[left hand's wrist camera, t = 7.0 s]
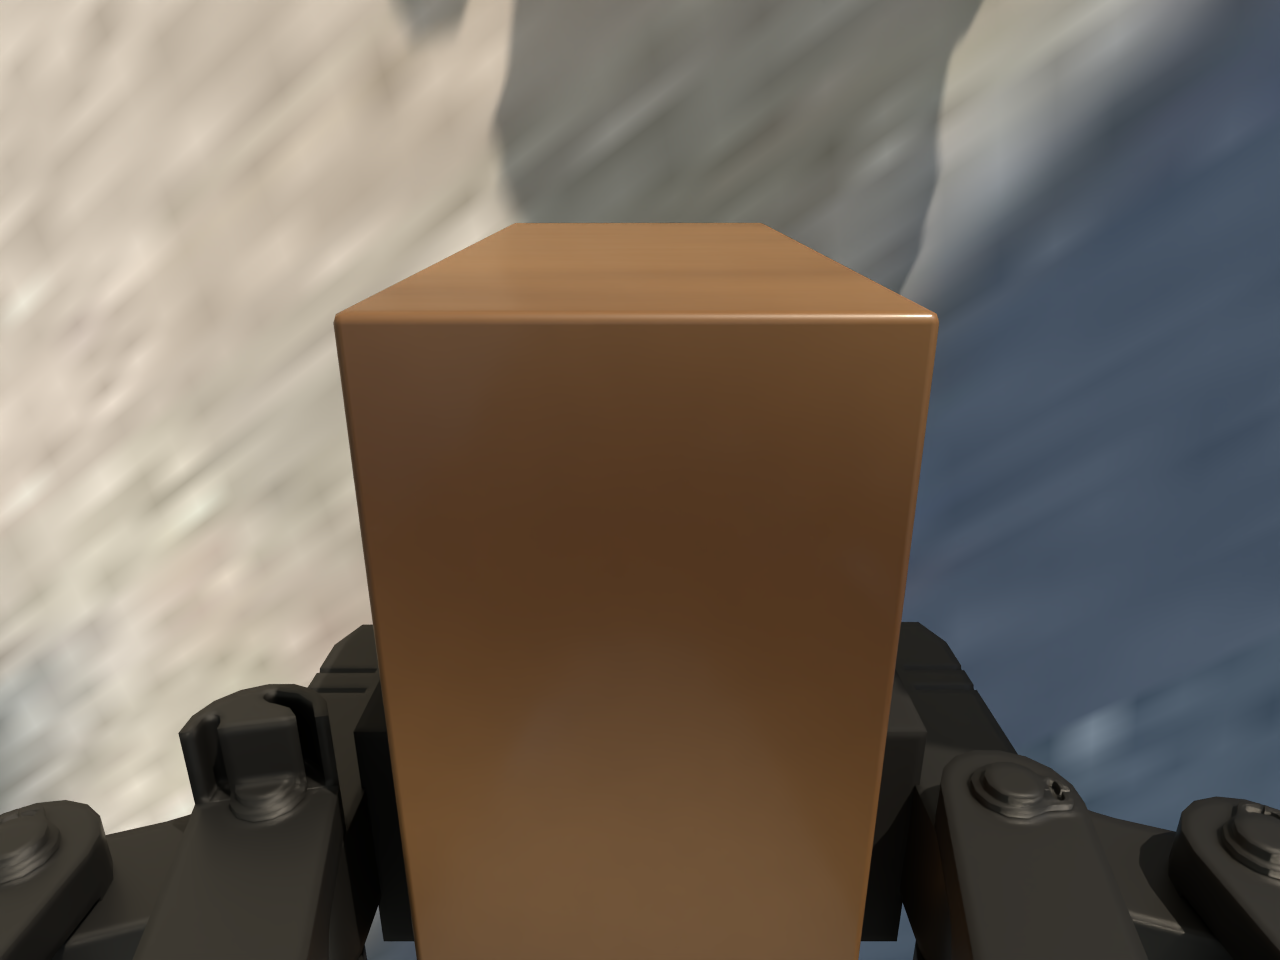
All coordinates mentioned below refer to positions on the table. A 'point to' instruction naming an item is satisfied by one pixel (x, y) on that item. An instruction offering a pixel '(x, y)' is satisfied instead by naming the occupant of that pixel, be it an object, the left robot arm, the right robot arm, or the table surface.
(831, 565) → the bar
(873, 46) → the table surface
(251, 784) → the left robot arm
